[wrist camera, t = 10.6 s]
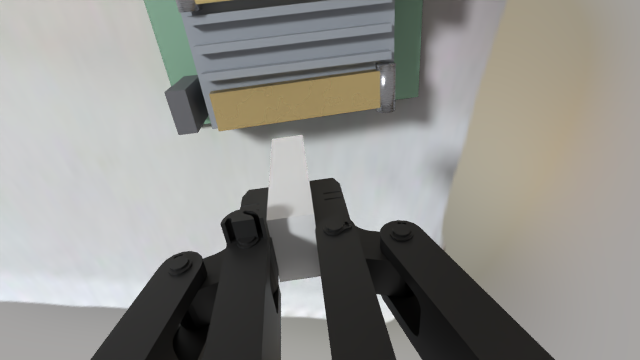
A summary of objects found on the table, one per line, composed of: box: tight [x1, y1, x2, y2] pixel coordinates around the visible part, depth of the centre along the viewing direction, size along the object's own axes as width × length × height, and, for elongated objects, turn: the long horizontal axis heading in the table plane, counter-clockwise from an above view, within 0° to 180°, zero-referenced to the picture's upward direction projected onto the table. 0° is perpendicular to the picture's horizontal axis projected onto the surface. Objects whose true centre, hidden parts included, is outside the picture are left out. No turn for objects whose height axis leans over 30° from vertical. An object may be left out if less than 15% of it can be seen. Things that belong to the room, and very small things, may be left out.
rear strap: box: [209, 62, 396, 131], centre depth 27 cm, size 15×4×2 cm, turn 96°
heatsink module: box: [144, 0, 423, 135], centre depth 28 cm, size 24×15×7 cm, turn 96°
